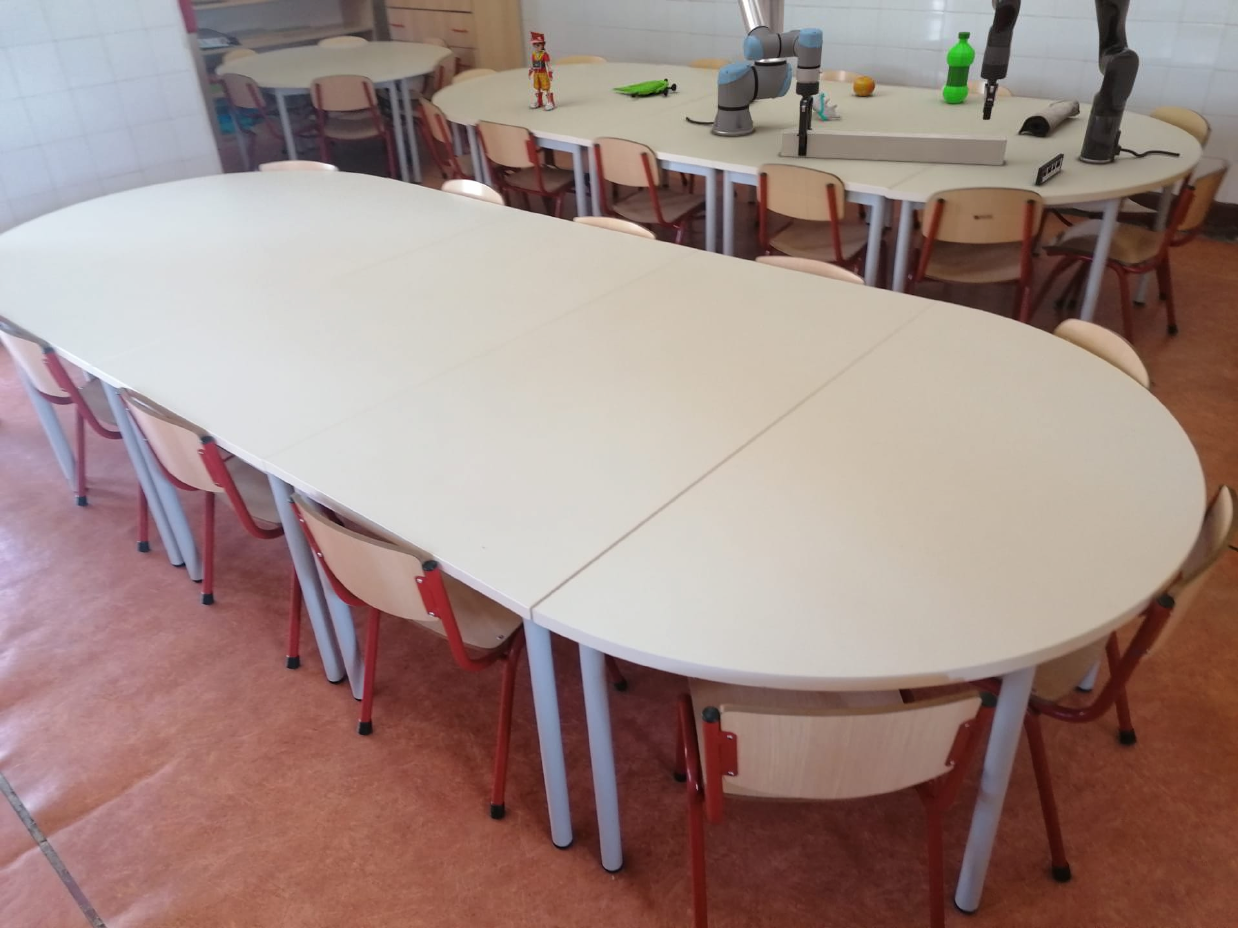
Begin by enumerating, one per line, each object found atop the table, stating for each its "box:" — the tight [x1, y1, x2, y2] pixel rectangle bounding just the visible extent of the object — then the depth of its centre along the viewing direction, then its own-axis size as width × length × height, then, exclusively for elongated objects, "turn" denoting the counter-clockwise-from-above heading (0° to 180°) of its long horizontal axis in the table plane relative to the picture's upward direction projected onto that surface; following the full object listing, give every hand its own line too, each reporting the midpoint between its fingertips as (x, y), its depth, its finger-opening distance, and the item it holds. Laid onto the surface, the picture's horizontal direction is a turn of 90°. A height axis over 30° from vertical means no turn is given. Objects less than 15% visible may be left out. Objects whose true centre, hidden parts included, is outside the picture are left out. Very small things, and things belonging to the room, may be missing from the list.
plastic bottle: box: [942, 31, 976, 104], centre depth 348 cm, size 10×10×25 cm
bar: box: [780, 128, 1008, 166], centre depth 297 cm, size 71×5×8 cm, turn 71°
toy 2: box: [612, 78, 677, 99], centre depth 396 cm, size 28×5×30 cm
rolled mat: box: [1018, 99, 1081, 137], centre depth 319 cm, size 30×9×10 cm
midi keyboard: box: [1035, 153, 1065, 186], centre depth 273 cm, size 18×1×5 cm, turn 138°
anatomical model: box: [812, 89, 842, 121], centre depth 345 cm, size 15×10×10 cm
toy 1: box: [527, 31, 556, 111], centre depth 374 cm, size 12×9×30 cm
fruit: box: [852, 76, 876, 97], centre depth 369 cm, size 8×8×8 cm
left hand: (803, 153), depth 307 cm, fingers closed on bar, 5 cm apart
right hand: (986, 116), depth 283 cm, fingers open, 8 cm apart
